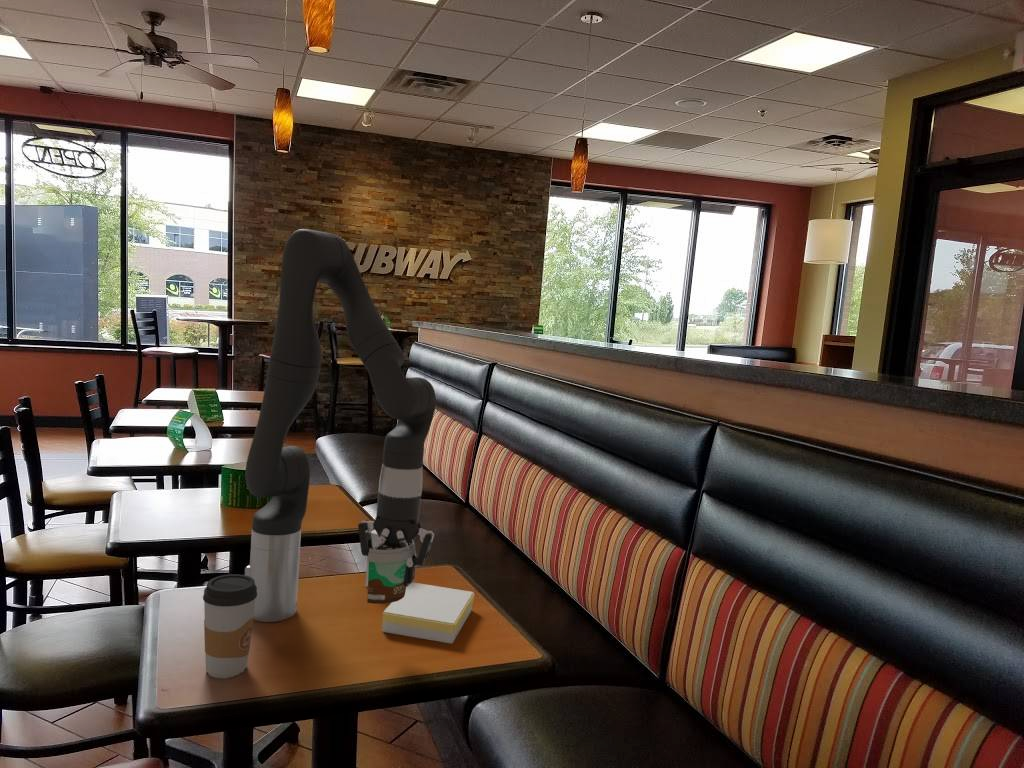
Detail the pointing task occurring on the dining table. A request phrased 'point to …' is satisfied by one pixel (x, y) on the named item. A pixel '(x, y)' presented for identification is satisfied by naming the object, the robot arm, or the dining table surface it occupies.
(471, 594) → the white flat block
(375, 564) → the food container
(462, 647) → the dining table surface
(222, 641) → the coffee cup
